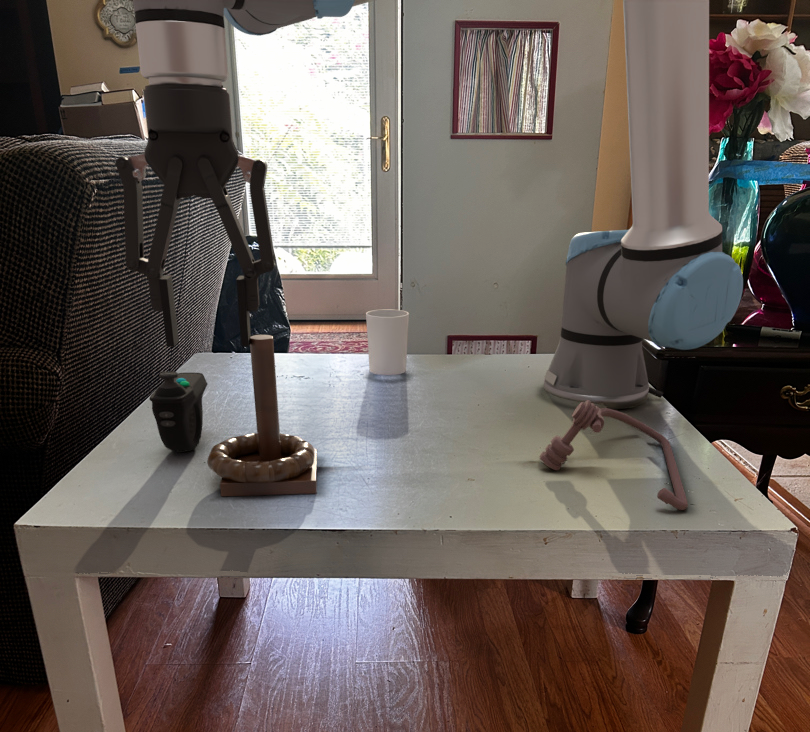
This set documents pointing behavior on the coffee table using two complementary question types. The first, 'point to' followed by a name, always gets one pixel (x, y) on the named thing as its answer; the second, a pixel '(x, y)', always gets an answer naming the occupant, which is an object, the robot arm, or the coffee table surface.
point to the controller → (179, 409)
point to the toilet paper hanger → (593, 417)
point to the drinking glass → (387, 341)
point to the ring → (260, 471)
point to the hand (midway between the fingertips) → (209, 343)
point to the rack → (268, 430)
